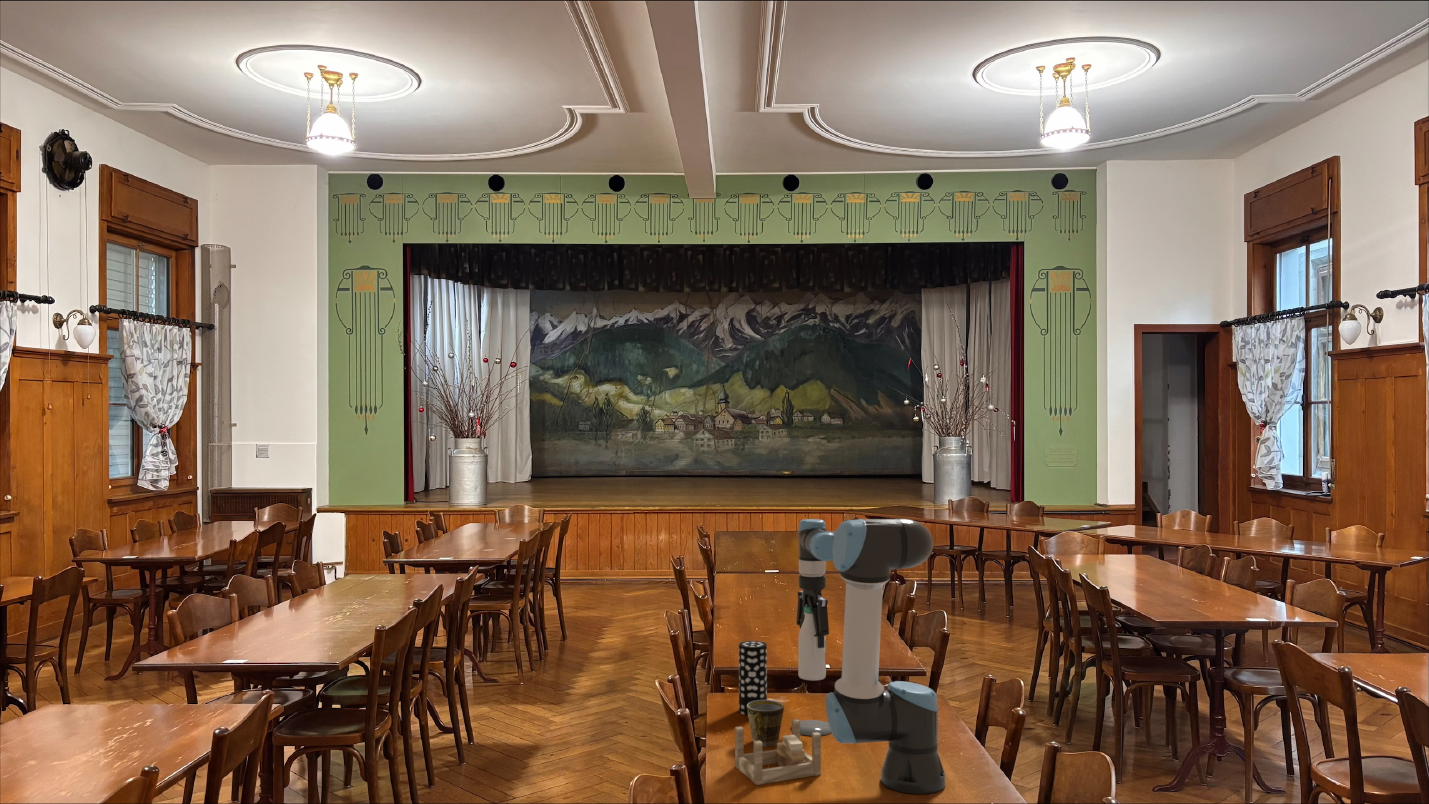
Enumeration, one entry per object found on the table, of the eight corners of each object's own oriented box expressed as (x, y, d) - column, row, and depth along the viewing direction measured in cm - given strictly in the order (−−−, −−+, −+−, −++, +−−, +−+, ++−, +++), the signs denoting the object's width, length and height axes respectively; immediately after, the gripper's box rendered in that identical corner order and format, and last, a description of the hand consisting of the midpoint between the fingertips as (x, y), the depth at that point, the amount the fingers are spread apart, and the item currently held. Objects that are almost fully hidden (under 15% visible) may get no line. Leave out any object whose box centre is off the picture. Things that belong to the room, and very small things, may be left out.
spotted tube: (754, 705, 292) (753, 639, 292) (772, 711, 286) (772, 644, 286) (733, 710, 287) (733, 643, 287) (751, 717, 280) (751, 648, 281)
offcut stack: (806, 773, 237) (806, 743, 237) (791, 775, 235) (791, 745, 235) (791, 761, 245) (791, 732, 245) (776, 764, 243) (776, 734, 243)
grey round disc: (841, 732, 267) (841, 730, 267) (803, 738, 262) (803, 735, 262) (821, 719, 278) (821, 717, 278) (784, 725, 273) (784, 722, 273)
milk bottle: (824, 681, 266) (824, 609, 266) (796, 680, 267) (796, 608, 268) (827, 674, 273) (826, 604, 274) (800, 672, 275) (799, 603, 275)
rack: (820, 774, 236) (820, 733, 236) (756, 785, 229) (756, 743, 229) (797, 757, 248) (797, 718, 248) (735, 766, 241) (735, 726, 241)
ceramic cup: (754, 734, 266) (754, 697, 266) (788, 738, 262) (788, 702, 262) (737, 749, 254) (737, 711, 254) (773, 754, 250) (773, 715, 250)
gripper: (842, 579, 263) (842, 662, 262) (807, 568, 282) (807, 645, 281) (817, 581, 260) (817, 665, 260) (784, 569, 279) (784, 648, 279)
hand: (812, 655), depth 271 cm, fingers closed on milk bottle, 8 cm apart
